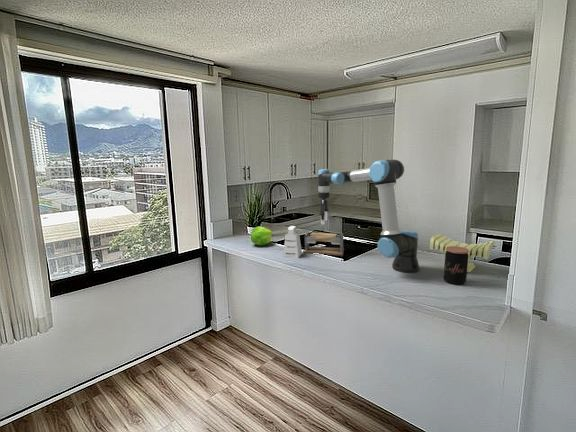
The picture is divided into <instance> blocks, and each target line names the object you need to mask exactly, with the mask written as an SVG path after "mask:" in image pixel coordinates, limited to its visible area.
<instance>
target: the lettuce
mask: <svg viewBox="0 0 576 432" xmlns="http://www.w3.org/2000/svg"><path fill="white" fill-rule="evenodd" d="M272 236H273V232H272V230H270V229H269V228H268V227H264V226H261V225H260V226H259V225H258V226H256V227H254V228H253V229H252V231H251V233H250V241H251V243H253V244H254V245H257V246H266V245H267V244H269V243H271V240H272Z"/></svg>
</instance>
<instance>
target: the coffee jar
mask: <svg viewBox="0 0 576 432" xmlns="http://www.w3.org/2000/svg"><path fill="white" fill-rule="evenodd" d="M468 252H469V250H468V249H466V248H463V247H458V246H449V247H446V253H445V256H444V267H443V279H444V282H446V283H447V284H450V285H454V286H463V285H465V283H467V277H468V276H467V275H468V274H467V273H468V272H467V266H468V254H467V253H468Z"/></svg>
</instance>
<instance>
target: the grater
mask: <svg viewBox="0 0 576 432" xmlns="http://www.w3.org/2000/svg"><path fill="white" fill-rule="evenodd" d="M302 254H303V251H302V244H301V237H300V232H299V231H297V226H296V225H290V226H288V228H287V232H286V233H285V236H284V245H283V255H282V258H288V257H289V259H290V258H291V259H292V258H293V259H299V258H300V256H301V255H302Z"/></svg>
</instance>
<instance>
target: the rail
mask: <svg viewBox="0 0 576 432" xmlns="http://www.w3.org/2000/svg"><path fill="white" fill-rule="evenodd" d="M310 234H311V237H316V242H328V243H331V237H334V238H337V235H338V234H337V233H328V232H311V233H310Z"/></svg>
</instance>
